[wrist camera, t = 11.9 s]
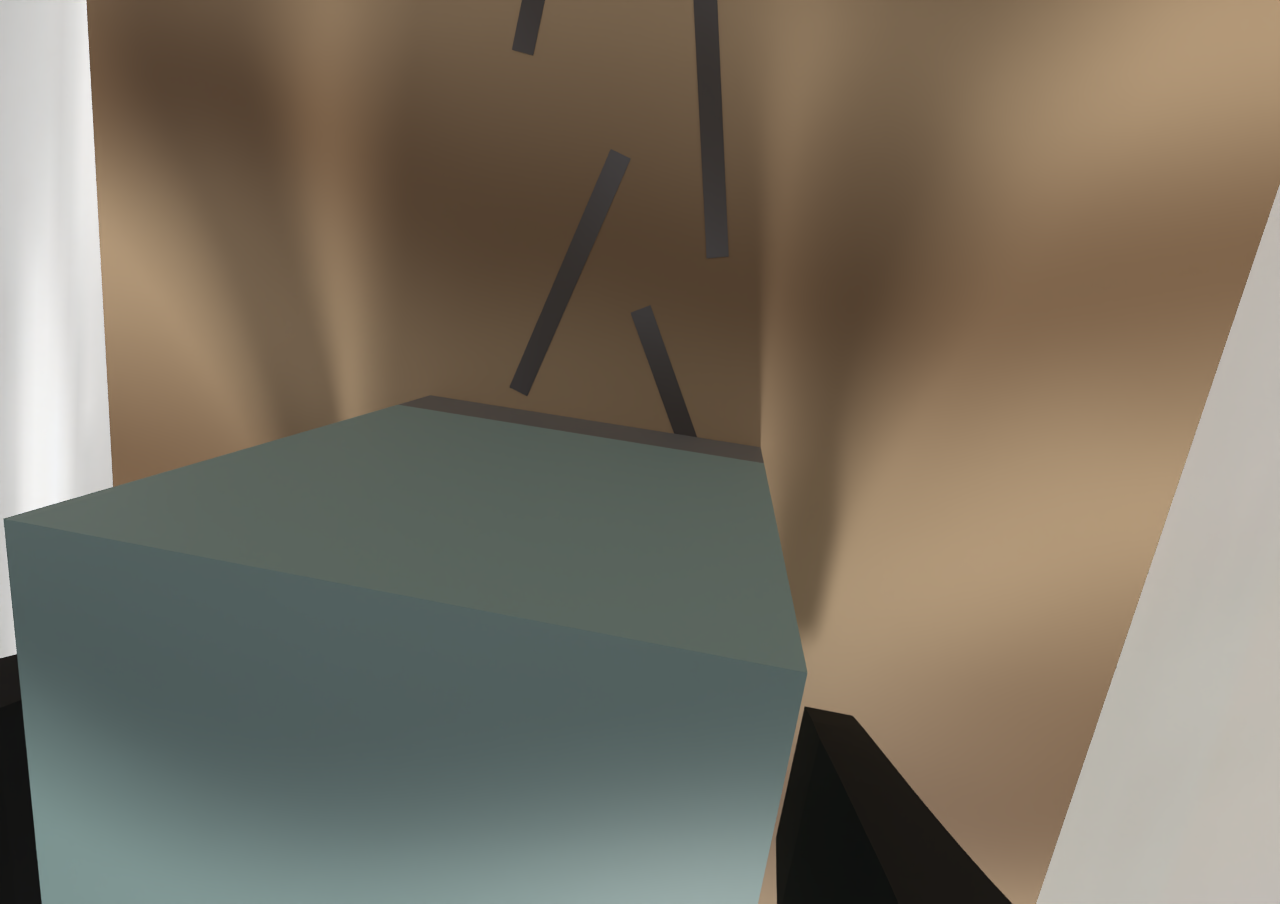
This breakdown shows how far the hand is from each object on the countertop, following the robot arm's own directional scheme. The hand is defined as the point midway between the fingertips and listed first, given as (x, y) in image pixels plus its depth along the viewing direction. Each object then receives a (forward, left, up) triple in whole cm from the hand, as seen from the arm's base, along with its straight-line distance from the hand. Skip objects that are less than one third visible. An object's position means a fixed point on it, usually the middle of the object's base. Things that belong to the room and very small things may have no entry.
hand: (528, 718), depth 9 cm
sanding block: (0, 0, -2) cm, 2 cm away
